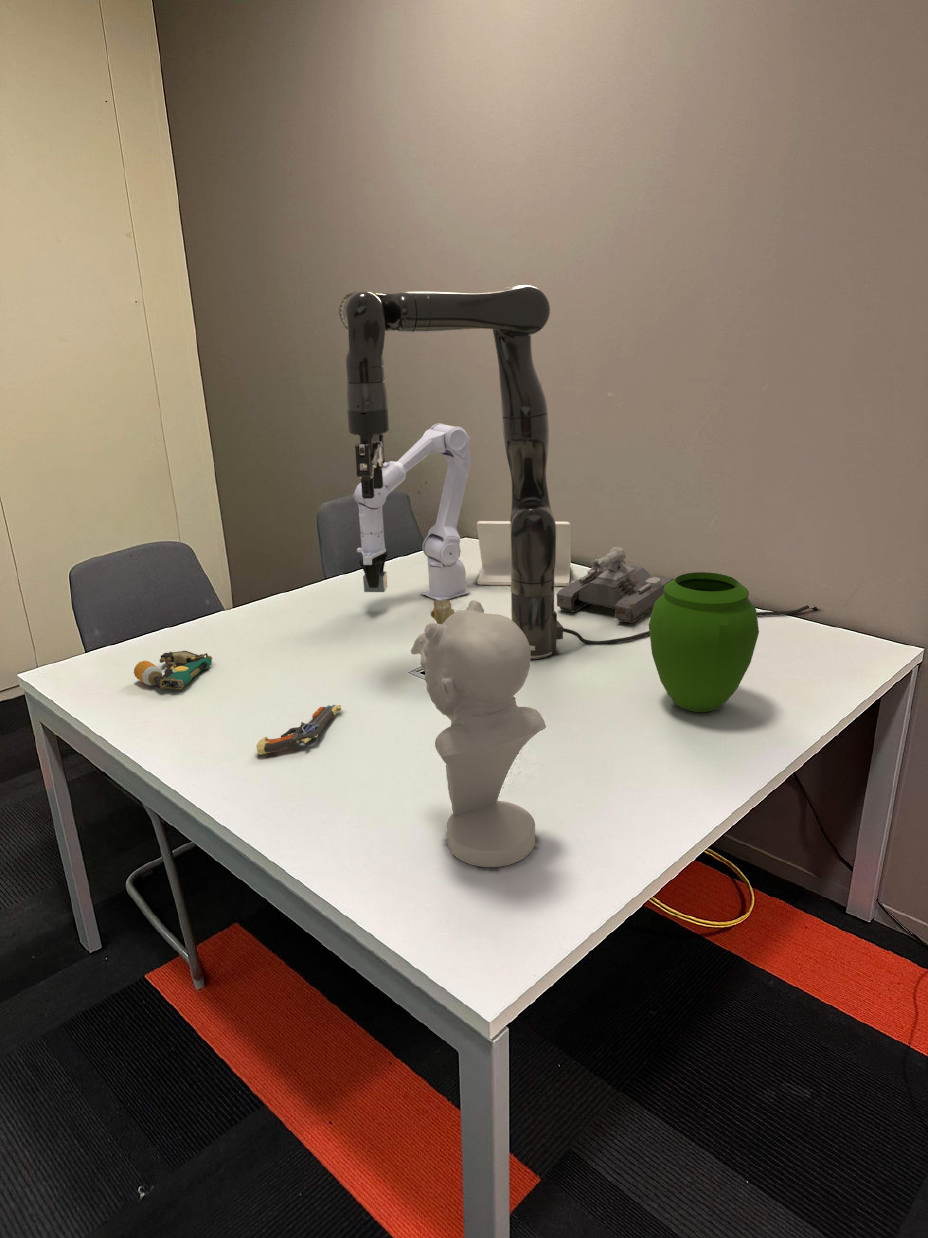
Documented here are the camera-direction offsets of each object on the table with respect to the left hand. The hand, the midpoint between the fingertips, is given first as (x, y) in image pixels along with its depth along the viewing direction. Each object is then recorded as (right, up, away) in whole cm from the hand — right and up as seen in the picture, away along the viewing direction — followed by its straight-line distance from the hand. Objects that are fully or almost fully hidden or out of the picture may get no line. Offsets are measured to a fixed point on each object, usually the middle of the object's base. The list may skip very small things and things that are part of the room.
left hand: (375, 584), depth 213 cm
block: (0, -1, 0) cm, 1 cm away
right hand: (+5, +15, -50) cm, 52 cm away
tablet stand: (+39, +3, +26) cm, 47 cm away
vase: (+66, -25, -52) cm, 88 cm away
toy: (+60, -5, +1) cm, 60 cm away
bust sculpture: (+23, -40, -88) cm, 100 cm away
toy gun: (-8, -30, -58) cm, 66 cm away
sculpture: (+18, -20, -34) cm, 43 cm away
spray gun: (-39, -21, -33) cm, 55 cm away
